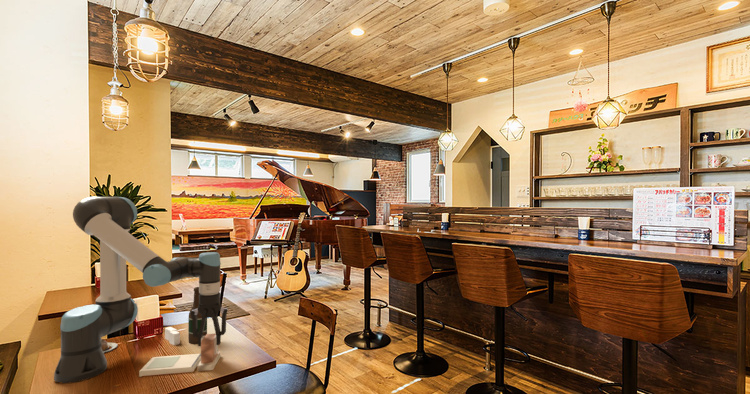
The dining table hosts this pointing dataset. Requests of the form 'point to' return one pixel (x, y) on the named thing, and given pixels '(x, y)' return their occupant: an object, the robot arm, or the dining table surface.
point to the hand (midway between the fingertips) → (209, 353)
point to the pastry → (107, 345)
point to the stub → (208, 354)
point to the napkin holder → (172, 335)
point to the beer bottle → (195, 305)
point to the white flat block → (171, 364)
